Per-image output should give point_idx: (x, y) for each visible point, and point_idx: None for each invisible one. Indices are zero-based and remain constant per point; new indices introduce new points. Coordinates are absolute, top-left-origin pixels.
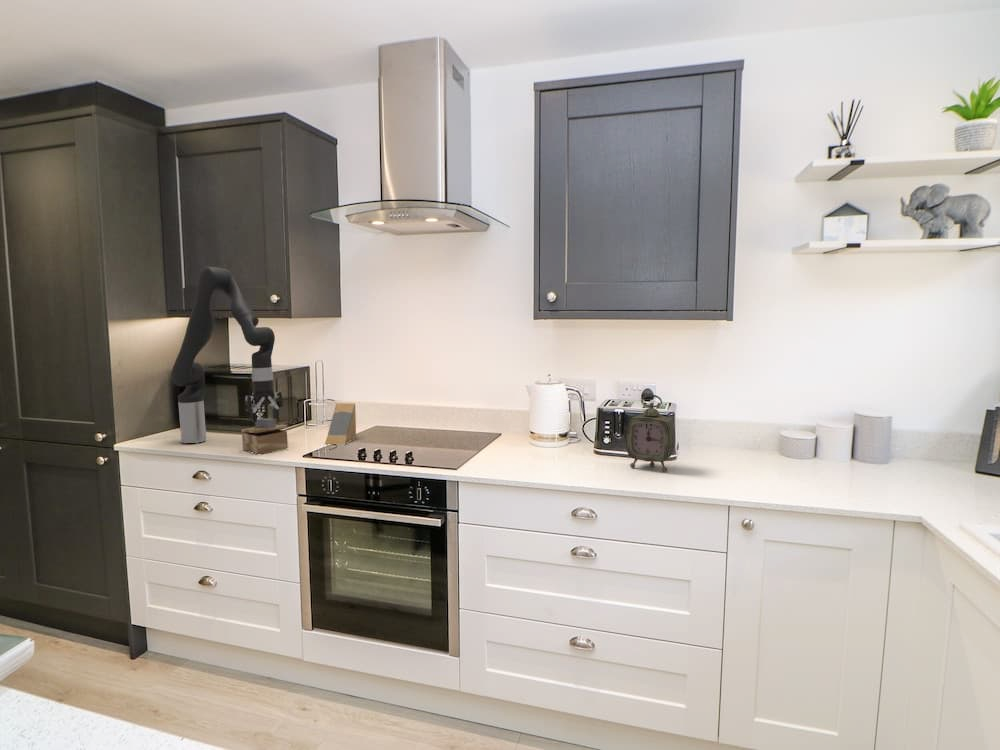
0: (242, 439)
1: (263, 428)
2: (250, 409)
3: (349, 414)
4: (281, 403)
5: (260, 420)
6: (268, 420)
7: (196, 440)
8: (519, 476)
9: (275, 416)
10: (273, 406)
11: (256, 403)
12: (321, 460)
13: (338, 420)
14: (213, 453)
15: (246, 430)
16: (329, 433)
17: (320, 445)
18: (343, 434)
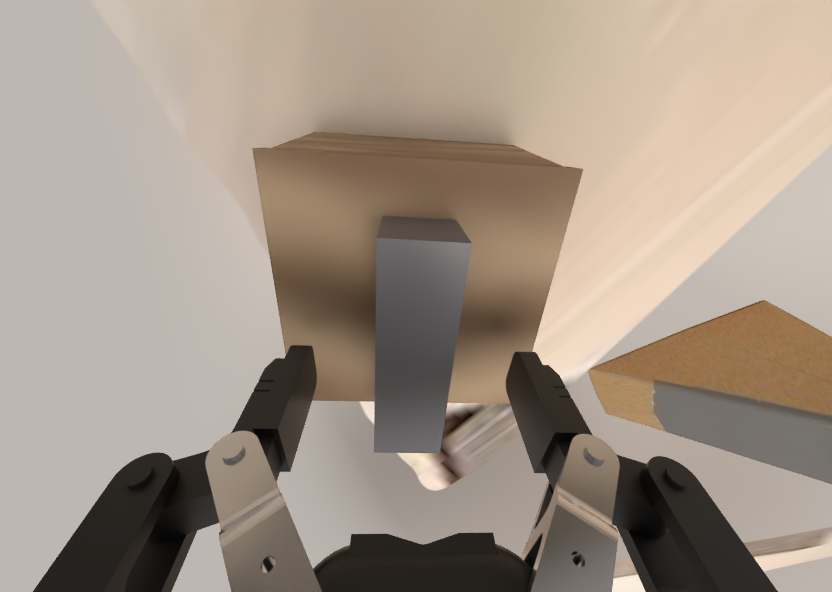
0: (292, 141)
1: (362, 370)
2: (186, 534)
3: None
4: (655, 554)
5: (375, 352)
6: (384, 446)
7: None
8: None
9: (511, 400)
10: (577, 477)
11: (299, 576)
12: (427, 475)
13: (779, 439)
14: (112, 16)
15: (272, 257)
16: (663, 392)
17: (585, 358)
18: (666, 427)
